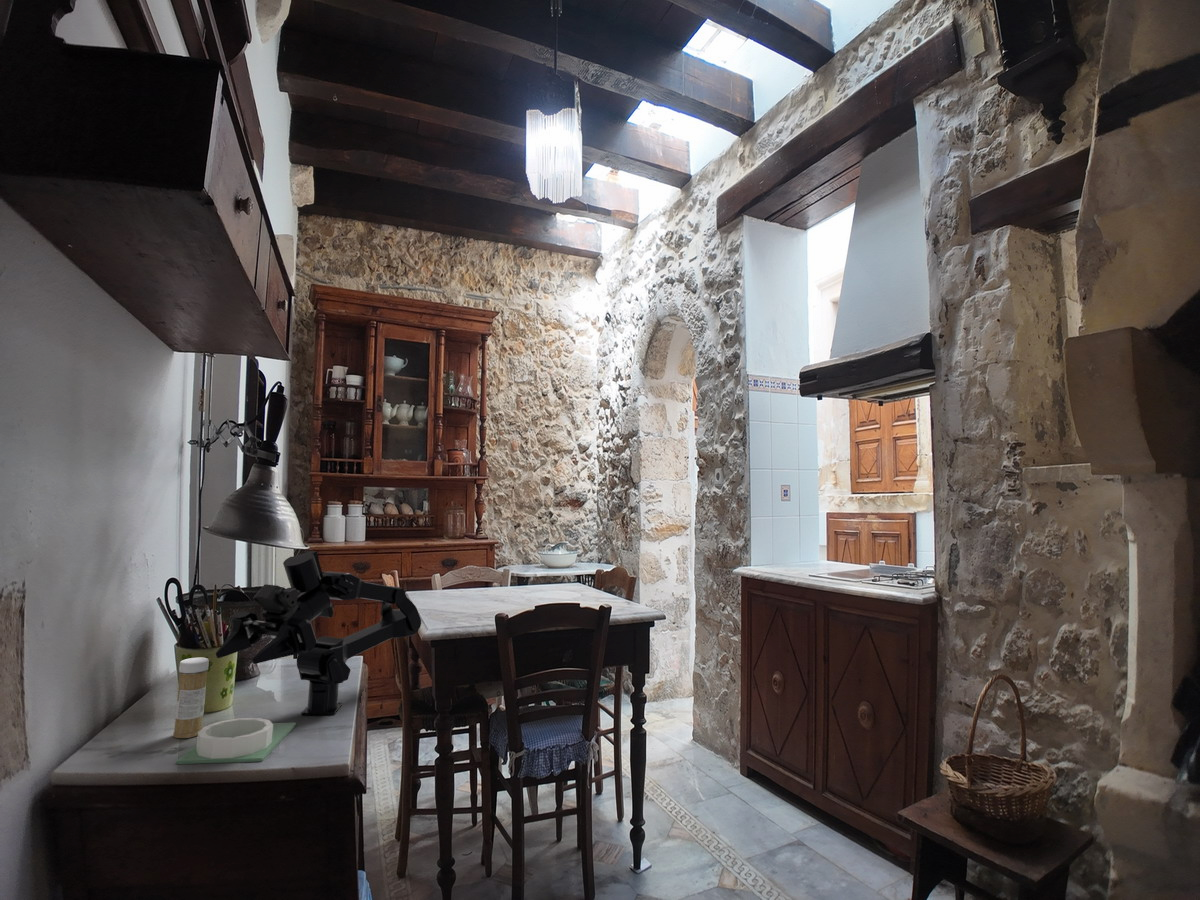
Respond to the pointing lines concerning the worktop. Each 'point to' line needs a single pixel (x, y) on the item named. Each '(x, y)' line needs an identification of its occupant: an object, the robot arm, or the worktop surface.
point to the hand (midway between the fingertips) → (234, 658)
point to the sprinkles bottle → (190, 697)
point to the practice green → (236, 741)
